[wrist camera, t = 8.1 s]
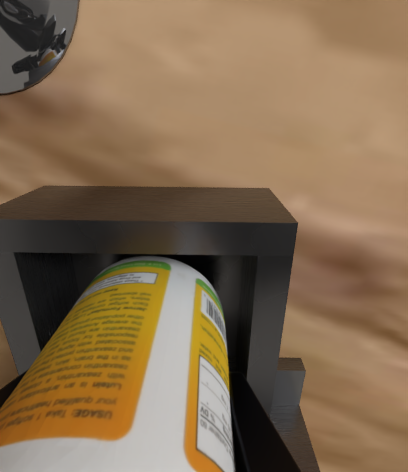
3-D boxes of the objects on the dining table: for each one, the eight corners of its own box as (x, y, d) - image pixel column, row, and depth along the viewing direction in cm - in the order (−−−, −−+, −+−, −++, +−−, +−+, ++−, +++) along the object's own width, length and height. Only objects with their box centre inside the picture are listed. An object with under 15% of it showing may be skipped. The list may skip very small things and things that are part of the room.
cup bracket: (291, 406, 16) (361, 646, 9) (45, 402, 16) (-86, 635, 9) (332, 189, 11) (555, 322, 4) (-18, 185, 12) (-413, 307, 4)
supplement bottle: (66, 333, 12) (-405, 1050, 3) (117, 225, 10) (-829, 1351, 1) (184, 381, 13) (122, 1035, 4) (250, 291, 11) (458, 1163, 2)
